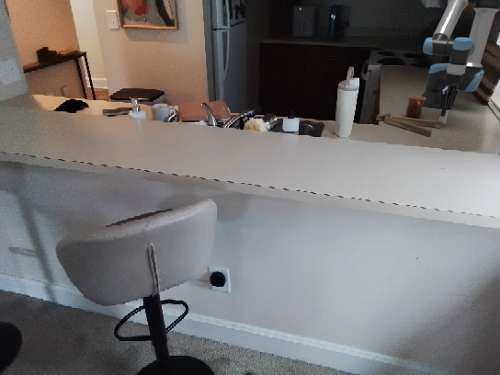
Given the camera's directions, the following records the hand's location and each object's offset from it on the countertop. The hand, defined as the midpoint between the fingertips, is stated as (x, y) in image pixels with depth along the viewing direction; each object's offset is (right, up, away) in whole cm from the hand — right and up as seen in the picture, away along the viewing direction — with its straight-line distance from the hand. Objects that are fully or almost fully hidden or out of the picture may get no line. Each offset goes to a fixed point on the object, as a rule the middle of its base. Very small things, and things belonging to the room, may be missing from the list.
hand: (442, 122), depth 189 cm
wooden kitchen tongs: (-20, -3, -3) cm, 21 cm away
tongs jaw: (-13, -1, 0) cm, 13 cm away
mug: (-10, +4, +11) cm, 15 cm away
